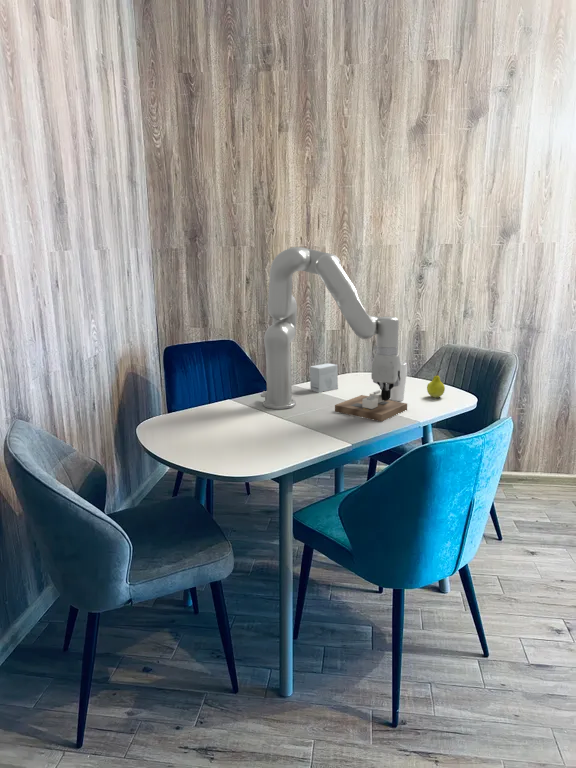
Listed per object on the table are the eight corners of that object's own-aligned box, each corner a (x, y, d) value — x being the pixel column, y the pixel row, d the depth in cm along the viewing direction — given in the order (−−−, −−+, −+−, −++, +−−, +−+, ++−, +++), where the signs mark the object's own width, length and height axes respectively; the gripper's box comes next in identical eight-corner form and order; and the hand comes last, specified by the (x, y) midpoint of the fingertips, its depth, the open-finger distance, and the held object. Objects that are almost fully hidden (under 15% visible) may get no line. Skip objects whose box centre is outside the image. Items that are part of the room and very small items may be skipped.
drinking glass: (407, 402, 220) (408, 364, 217) (389, 402, 221) (390, 364, 217) (404, 397, 227) (405, 360, 223) (387, 397, 227) (388, 361, 224)
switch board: (334, 411, 209) (334, 404, 209) (361, 401, 223) (361, 394, 222) (381, 421, 197) (381, 414, 196) (407, 410, 210) (407, 403, 210)
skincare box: (328, 386, 247) (328, 362, 245) (338, 389, 242) (338, 364, 240) (309, 389, 241) (309, 365, 239) (319, 392, 236) (319, 368, 234)
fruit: (423, 397, 227) (424, 368, 224) (432, 394, 232) (434, 365, 229) (437, 400, 222) (439, 370, 220) (447, 397, 227) (449, 368, 224)
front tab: (362, 407, 205) (362, 396, 204) (368, 404, 208) (368, 394, 207) (371, 409, 202) (372, 398, 201) (377, 406, 205) (378, 396, 204)
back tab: (369, 401, 212) (369, 391, 211) (375, 399, 215) (375, 389, 214) (378, 403, 209) (378, 393, 208) (384, 400, 212) (384, 391, 211)
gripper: (364, 350, 207) (363, 398, 211) (400, 355, 197) (398, 405, 202) (375, 347, 212) (373, 394, 217) (410, 351, 203) (408, 401, 207)
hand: (385, 399), depth 209 cm, fingers closed
